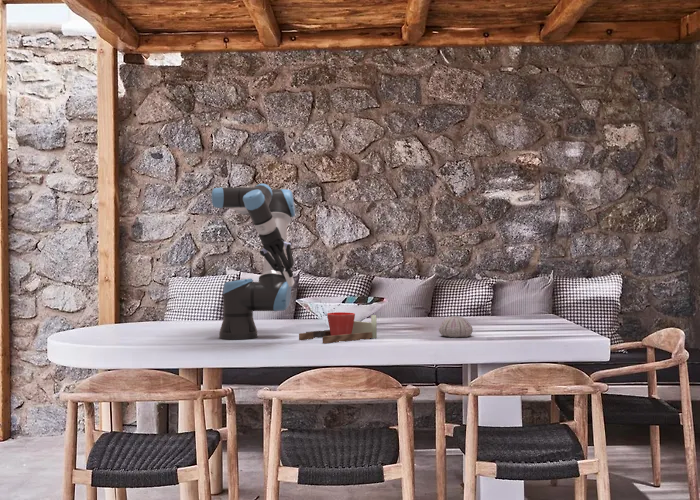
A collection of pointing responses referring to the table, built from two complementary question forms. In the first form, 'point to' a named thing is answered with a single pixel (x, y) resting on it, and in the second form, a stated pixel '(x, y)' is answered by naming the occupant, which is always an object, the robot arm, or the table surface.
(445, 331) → the sea urchin shell
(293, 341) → the table surface
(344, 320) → the flower pot
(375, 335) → the sage end wall
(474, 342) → the table surface
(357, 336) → the walnut trap lane
